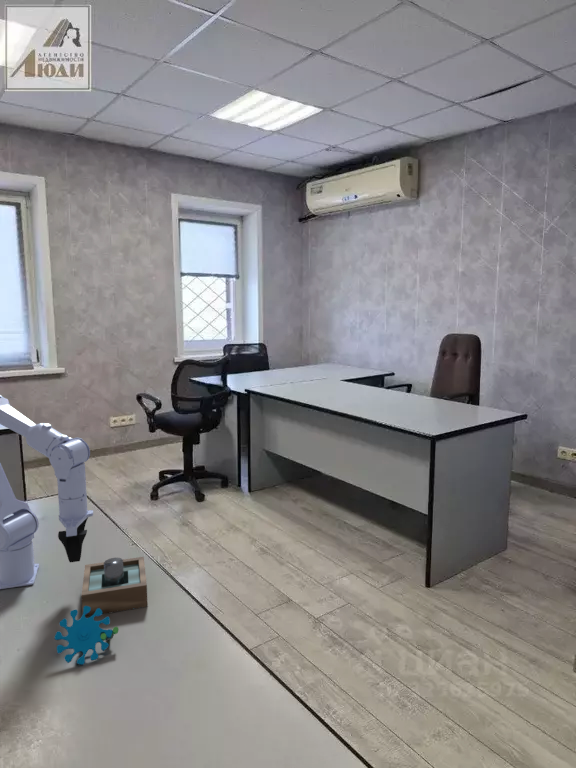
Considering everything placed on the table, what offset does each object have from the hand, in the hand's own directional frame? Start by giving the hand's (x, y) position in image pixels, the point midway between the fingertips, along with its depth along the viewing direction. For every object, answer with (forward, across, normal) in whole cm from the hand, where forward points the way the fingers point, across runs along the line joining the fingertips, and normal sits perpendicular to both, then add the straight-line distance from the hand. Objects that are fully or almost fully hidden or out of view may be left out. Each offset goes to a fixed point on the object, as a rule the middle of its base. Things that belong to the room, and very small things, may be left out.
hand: (76, 552), depth 115 cm
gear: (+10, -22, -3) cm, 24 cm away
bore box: (+9, -4, -8) cm, 13 cm away
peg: (+8, -4, -8) cm, 12 cm away
